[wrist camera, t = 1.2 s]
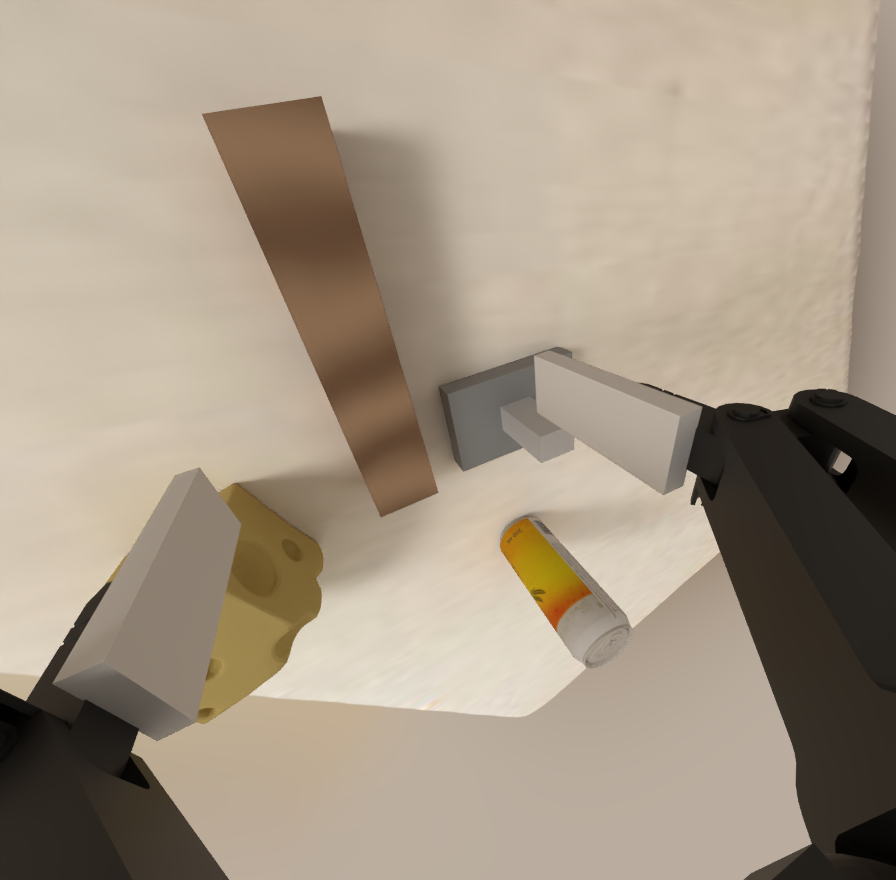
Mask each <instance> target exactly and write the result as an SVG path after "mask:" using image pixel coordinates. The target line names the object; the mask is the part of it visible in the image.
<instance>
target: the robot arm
mask: <svg viewBox="0 0 896 880" xmlns="http://www.w3.org/2000/svg"><path fill="white" fill-rule="evenodd" d="M534 365H535V385H536V404H537V413H538V414H540V415H542V416H543V417H545V418H546V419H548V420H549V421H551V422H552V423H554V424H555V425H557V426H558V427H560V428H561V429H563V430H564V431H566V432H568V433H569V434H571V435H572V436H574V437H575V438H577V439H578V440H580V441H581V442H583V443H584V444H586V445H587V446H589V447H591V448H592V449H594V450H595V451H597V452H598V453H600V454H601V455H603V456H604V457H606V458H607V459H609V460H610V461H612V462H613V463H615V464H617V465H618V466H620V467H621V468H623V469H624V470H626V471H627V472H629V473H630V474H632V475H633V476H635V477H636V478H638V479H639V480H641V481H643V482H644V483H646V484H647V485H649V486H650V487H652V488H653V489H655V490H656V491H658V492H659V493H661V494H662V495H665V494H667V493H669V492H671V491H673V490H675V489H677V488H680V487H682V486H683V484H684V480H685V476H686V472H687V470H689V471H691V472H693V473H695V474H696V475H697V478H696V482H695V485H694V489H693V493H692V496H691V505H695V503H696V500H697V498H699V497H700V499H701V501H702V504H701V506H703V507H704V509H705V512H706V515H707V518H708V520H709V523H710V526H711V528H712V531H713V534H714V536H715V539H716V542H717V544H718V547H719V550H720V552H721V555H722V557H723V560H724V563H725V566H726V568H727V571H728V574H729V576H730V579H731V581H732V584H733V587H734V590H735V592H736V595H737V598H738V600H739V603H740V606H741V609H742V611H743V614H744V616H745V619H746V622H747V625H748V627H749V630H750V633H751V635H752V638H753V641H754V643H755V646H756V649H757V651H758V654H759V656H760V659H761V662H762V665H763V667H764V670H765V673H766V675H767V678H768V681H769V683H770V686H771V688H772V692H773V694H774V697H775V700H776V702H777V705H778V707H779V710H780V713H781V715H782V718H783V720H784V724H785V726H786V729H787V732H788V734H789V737H790V740H791V742H792V745H793V749H794V752H795V758H796V790H797V796H798V802H799V805H800V809H801V812H802V816H803V819H804V822H805V825H806V828H807V831H808V833H809V836H810V839H811V842H812V844H811V845H808V846H807V847H804V848H803V849H800V850H798V851H796V852H794V853H792V854H790V855H788V856H786V857H784V858H782V859H780V860H778V861H776V862H773V863H771V864H770V865H768V866H765V867H763V868H761V869H759V870H757V871H755V872H753V873H751V874H750V875H749V876H748V877H746V878H745V879H744V880H896V415H894V414H891V413H890V412H888V411H886V410H883V409H881V408H879V407H877V406H875V405H873V404H871V403H869V402H867V401H865V400H862V399H860V398H858V397H855V396H853V395H850V394H847V393H843V392H838V391H837V390H832V389H828V390H826V389H814V390H804V391H800V392H798V393H796V394H795V395H794V396H793V399H792V401H791V404H790V406H789V409H784V410H778V411H771V410H769V409H767V408H764V407H761V406H757V405H752V404H744V403H732V404H725V405H722V406H719V407H718V408H717V409H715V408H713V407H710V406H707V405H704V404H702V403H699V402H696V401H693V400H691V399H688V398H685V397H682V396H680V395H677V394H676V395H674V394H673V393H671V392H668V391H666V390H664V391H662V389H660V388H657V387H655V386H652V385H649V384H644V383H638V382H634V381H631V380H629V379H626V378H623V377H620V376H618V375H615V374H612V373H610V372H607V371H604V370H601V369H599V368H596V367H593V366H591V365H588V364H585V363H583V362H580V361H577V360H574V359H572V358H569V357H566V356H564V355H561V354H558V353H555V352H553V351H550V350H549V351H546V352H543V353H540V354H537V355H534ZM841 451H843V452H844V453H845V454H847V455H848V456H850V457H851V458H852V460H851V462H850V464H849V465H848V467H847V469H846V470H845V471H844V473H843V474H842V473H840V472H838V471H836V470H835V469H834V468H832V467H833V465H834V463H835V462H836V460H837V458H838V456H839V454H840V452H841ZM240 528H241V523H240V522H239V520H238V519H237V518H236V516H235V515H234V514H233V512H232V511H231V509H230V508H229V507H228V505H227V504H226V503H225V501H224V500H223V499H222V497H221V496H220V495H219V493H218V492H217V490H216V489H215V488H214V486H213V485H212V484H211V482H210V481H209V480H208V478H207V477H206V476H205V474H204V473H203V471H202V470H201V469H200V467H199V468H196V469H193V470H190V471H187V472H184V473H181V474H178V475H175V476H174V478H173V479H172V481H171V483H170V485H169V486H168V488H167V490H166V491H165V493H164V495H163V496H162V498H161V500H160V502H159V503H158V505H157V507H156V508H155V510H154V512H153V513H152V515H151V517H150V519H149V520H148V522H147V524H146V525H145V527H144V529H143V530H142V532H141V534H140V536H139V537H138V539H137V541H136V542H135V544H134V546H133V547H132V549H131V551H130V553H129V554H128V556H127V558H126V559H125V561H124V563H123V564H122V566H121V568H120V570H119V571H118V573H117V575H116V576H115V578H114V580H113V581H111V582H108V583H106V584H105V585H104V586H103V587H102V589H101V590H100V591H99V592H98V593H97V594H96V595H95V596H94V597H93V598H92V599H91V600H90V601H89V602H88V603H87V604H86V606H85V607H84V609H83V611H82V612H81V614H80V615H79V617H78V619H77V620H76V622H75V623H74V625H75V627H74V628H71V630H70V631H69V633H68V635H67V636H66V638H65V639H64V641H63V642H64V645H62V646H60V647H59V649H58V651H57V652H56V654H55V655H54V657H53V659H52V660H51V662H50V663H49V665H48V667H47V668H46V670H45V671H44V673H43V675H42V676H41V678H40V679H39V681H38V683H37V684H36V686H35V687H34V689H33V691H32V692H31V694H30V695H29V697H28V699H27V700H26V701H24V700H22V699H20V698H18V697H16V696H14V695H12V694H10V693H8V692H5V691H3V690H1V689H0V880H229V879H228V878H227V876H226V875H225V873H224V872H223V871H222V869H221V868H220V867H219V865H218V864H217V862H216V861H215V860H214V858H213V857H212V855H211V854H210V853H209V851H208V850H207V848H206V847H205V845H204V844H203V843H202V841H201V840H200V839H199V837H198V836H197V834H196V833H195V832H194V830H193V829H192V827H191V826H190V825H189V824H188V822H187V820H186V819H185V818H184V816H183V815H182V813H181V812H180V811H179V809H178V808H177V806H176V805H175V804H174V802H173V801H172V800H171V798H170V797H169V795H168V794H167V793H166V791H165V790H164V788H163V787H162V786H161V784H160V783H159V781H158V780H157V779H156V777H155V776H154V775H153V773H152V772H151V770H150V769H149V768H148V766H147V765H146V763H145V762H144V761H143V759H142V758H141V757H139V756H137V755H135V754H133V753H131V751H132V748H133V745H134V742H135V739H136V736H137V734H138V731H140V732H142V733H143V734H145V735H147V736H149V737H151V738H152V739H154V740H156V741H158V740H160V739H162V738H165V737H167V736H168V735H171V734H173V733H175V732H177V731H179V730H181V729H183V728H185V727H187V726H189V725H191V724H193V723H195V722H196V720H197V715H198V711H199V707H200V702H201V698H202V693H203V689H204V685H205V680H206V676H207V672H208V667H209V663H210V659H211V654H212V650H213V645H214V641H215V637H216V632H217V628H218V624H219V619H220V615H221V611H222V606H223V602H224V598H225V593H226V589H227V584H228V580H229V576H230V571H231V567H232V563H233V558H234V554H235V550H236V545H237V541H238V537H239V532H240Z"/></svg>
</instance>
